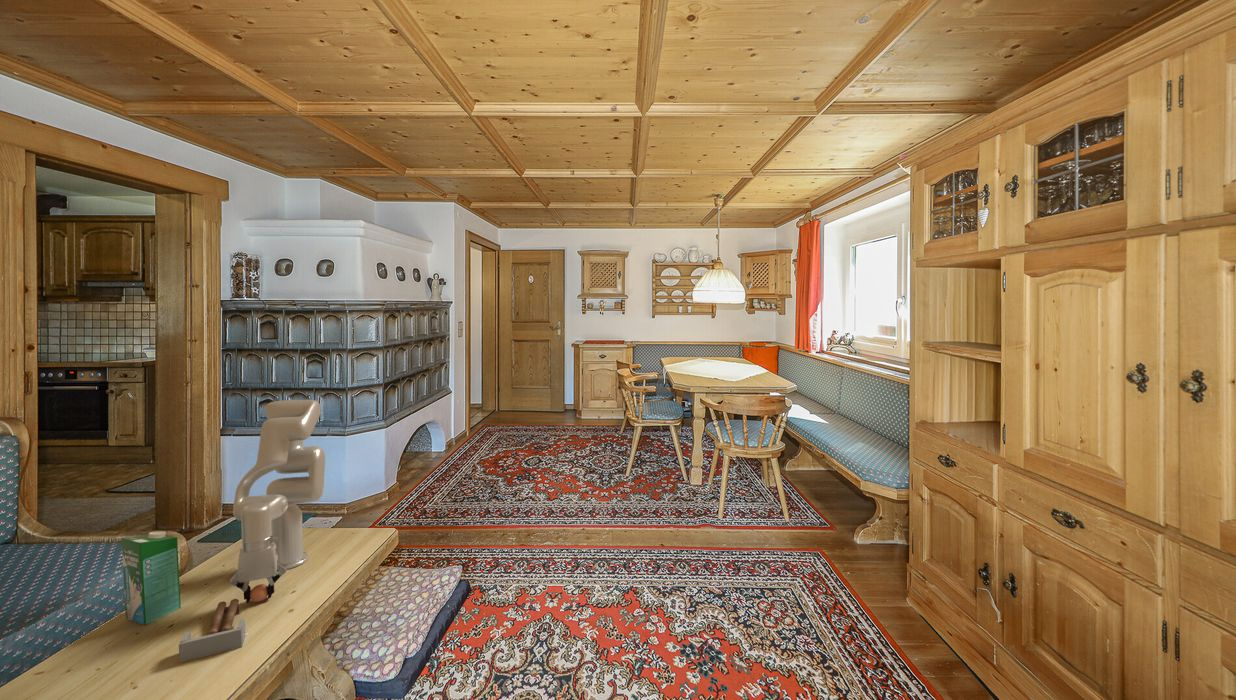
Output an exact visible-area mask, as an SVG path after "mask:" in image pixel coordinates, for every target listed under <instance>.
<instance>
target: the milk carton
mask: <svg viewBox="0 0 1236 700" xmlns="http://www.w3.org/2000/svg"><path fill="white" fill-rule="evenodd" d="M178 543H179V542H178V537H177V536H172V535H169V534H167V531H161V530H159V531H157V530H156V531H155V530H154V531H150V532H149V533H148V534H140V535H134V536H125V537H121V553H122V554H121V555H122V570H123V571H122V573H123V591H124V605H125V606H124V607H125V619H127V620H128V621H131V622H135V623H137V624H139V625H140V624H141V625H142V626H147V625H148V624H150V623H153V622H154V621H156V620H158V619H161V618H163V617H164V616H167V615H168V614H169V615H170V614H171V613H173V612H175V610H176V611H177V609H178V610H180V609H181V608H182V607H181V590H180V589H181V587H180V569H179V568H180V567H179V565H180V564H179V546H178V545H179V544H178Z"/></svg>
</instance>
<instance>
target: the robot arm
mask: <svg viewBox="0 0 1236 700" xmlns="http://www.w3.org/2000/svg"><path fill="white" fill-rule="evenodd" d="M321 407H322V406H321V404H320V402H319V401H318V400H315V399H285V400H284V399H283V400H275V401H271V402H269V403H268V404H267V405H265V409H264V413H265V416H266V419H267V420H264V422H263V423H262V424H261V431H260V437H259V442H258V443H259V444H258V452H257V456H256V457H257V458H256V463H255V465H253V467H251V468H250V470H249V471H247V473H245V475H244V476H243V477H242V478H241V480H240V481H239V483H238V485H237V487H236V488H235V489H236V490H235V495H234V500H233V507H232V508H233V509H232V511H233V512H232V513H233V516H234V518H235V519H236V521H241V523H240V524H241V525H240V526H241V528H240V529H241V544H242V545H241V548H240V550H239V554H238V562H237V571H236V573H235V574H234V575H233V576H232V577H231V579H229V582H228V583H229V584H230V585H232V586H234V587H236V588H237V589H240V590H241V591H242V592H243V600H245V602H246V604H248V603H250V601H251V599H250V592H251V590H252V588H251V586H250V585H249V584H250V582H253V581H258V580H263V579H266V580H267V582H268V585H267V587H268V596H267V599H271V598H272V595H273V594H275V583H276V582H277V581H278V580H279V579H280V578H281V577H283V575H284V574H286V573H287V571H288V570H290V569H293V568H296V567H298V566H300V565H302V564H304V563H305V562H307V560H308V559H309V553H308V552H307V551H304V539H303V538H304V537H303V535H304V534H303V513H302V510H301V508H300V507H299V504H305V503H314V502H318V501H320V499H322V497H323V494H324V486H325V471H326V470H325V468H326V456H325V451H324V449H323V447H320V446H311V445H310V446H304V441H305V440H308V439H309V438H310V437H311V435H312V433H313V431H314V429H315V427H316V425H317V422H318V421H319V418H320V416H321V413H322V408H321ZM273 471H274V472H276V473H277V474H281V475H287V474H289V475H290V474H302V473H307V474H308V475H307V476H291V477H282V478H281V477H280V478H277V479H274V480H272V481H271V482H270V483H268V485H267V487H266V490H265V491H266V492H265V495H251V496H249V495H250V492H251V488H253V487H252V486H253V485H254V484H255V483H256V481H258V480H260V478H263V477H264V476H265V475H267V474H269V473H271V472H273Z"/></svg>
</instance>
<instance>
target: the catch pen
mask: <svg viewBox="0 0 1236 700" xmlns="http://www.w3.org/2000/svg"><path fill="white" fill-rule="evenodd" d="M246 634H247V633H246V618H244V619H239V621H238V624H237V626H236V628H234V629H232V630H228V631H223V632H219V633H215V634H211V635H208V634H207V635H203V636H200V637H196V638H192V633H191V631H187V632H184V634H183V635H182V638H181V639H180V641H179V643H178V657H179V663H184V662H188V661H192V660H196V659H200V658H204V657H207V656H213V655H215V654H219V653H224V652H228V651H231V650H236V649H239V648H242V647H243V644H244V642H245V639H246V636H247V635H246Z"/></svg>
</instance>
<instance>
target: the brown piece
mask: <svg viewBox="0 0 1236 700" xmlns="http://www.w3.org/2000/svg"><path fill="white" fill-rule="evenodd" d="M239 601H240V600H239V599H238V598H233V599H231V600H230V603H229V606H227V602H226V601H220V602H219V603H218V604H217V606H216V610H215V612H214V616H213V618H212V622H211V625H210V628H209V631H208V633H207V635H211V634H215V633H219V632H223V631H228V630H232V629H235V626H233V622H234V620H235V616H236V615H240V613H241V603H239ZM223 618H224V622H223V626H222V628H221V629H219V628H220V625H221V622H222V619H223Z"/></svg>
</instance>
